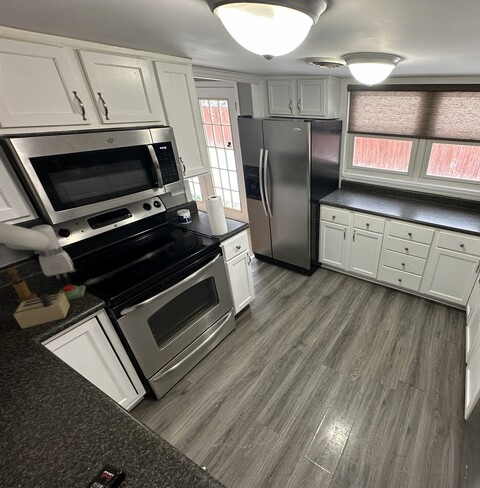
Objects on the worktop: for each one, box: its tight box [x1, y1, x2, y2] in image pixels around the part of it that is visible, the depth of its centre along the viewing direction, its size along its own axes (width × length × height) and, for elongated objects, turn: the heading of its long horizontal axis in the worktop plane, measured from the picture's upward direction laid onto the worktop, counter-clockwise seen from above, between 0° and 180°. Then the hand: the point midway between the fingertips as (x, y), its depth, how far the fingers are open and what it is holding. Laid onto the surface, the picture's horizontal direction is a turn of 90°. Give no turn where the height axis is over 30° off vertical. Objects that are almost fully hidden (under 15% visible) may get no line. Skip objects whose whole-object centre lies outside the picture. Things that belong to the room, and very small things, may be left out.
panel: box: [57, 284, 87, 301], centre depth 133 cm, size 10×9×4 cm
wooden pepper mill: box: [6, 268, 39, 305], centre depth 125 cm, size 7×6×18 cm
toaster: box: [13, 293, 71, 330], centre depth 118 cm, size 14×10×8 cm
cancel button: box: [62, 284, 74, 292], centre depth 132 cm, size 4×4×2 cm
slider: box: [39, 292, 52, 307], centre depth 114 cm, size 2×3×5 cm, turn 32°
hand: (66, 283), depth 131 cm, fingers closed
